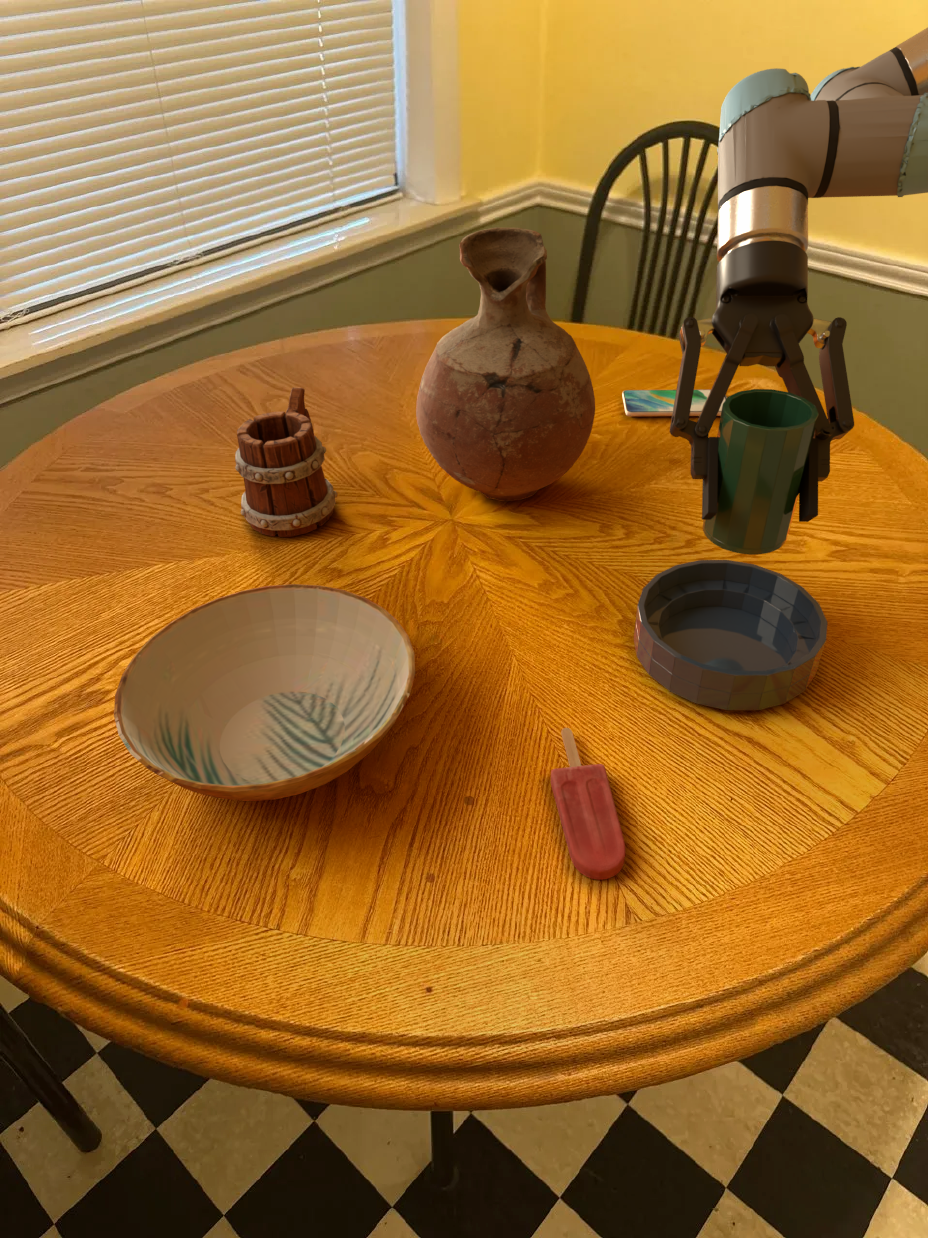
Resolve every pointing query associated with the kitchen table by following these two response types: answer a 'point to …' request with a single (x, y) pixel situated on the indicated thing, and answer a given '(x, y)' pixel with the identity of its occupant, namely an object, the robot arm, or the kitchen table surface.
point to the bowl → (265, 691)
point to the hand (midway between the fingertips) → (758, 517)
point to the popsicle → (588, 815)
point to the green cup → (760, 468)
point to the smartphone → (661, 402)
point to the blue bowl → (729, 634)
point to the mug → (283, 472)
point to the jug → (506, 378)
